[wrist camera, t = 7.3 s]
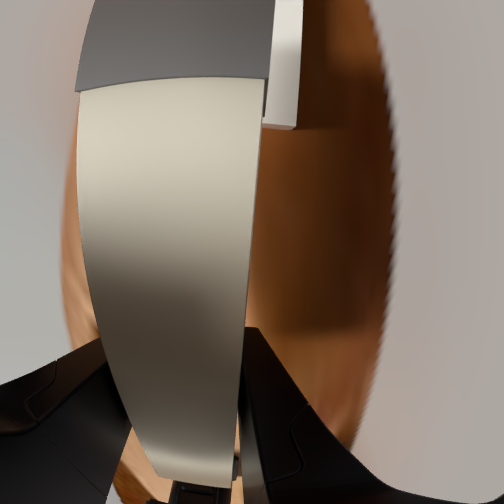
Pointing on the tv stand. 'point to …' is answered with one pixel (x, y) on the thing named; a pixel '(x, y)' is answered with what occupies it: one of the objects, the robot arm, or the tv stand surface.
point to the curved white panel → (173, 213)
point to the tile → (284, 66)
